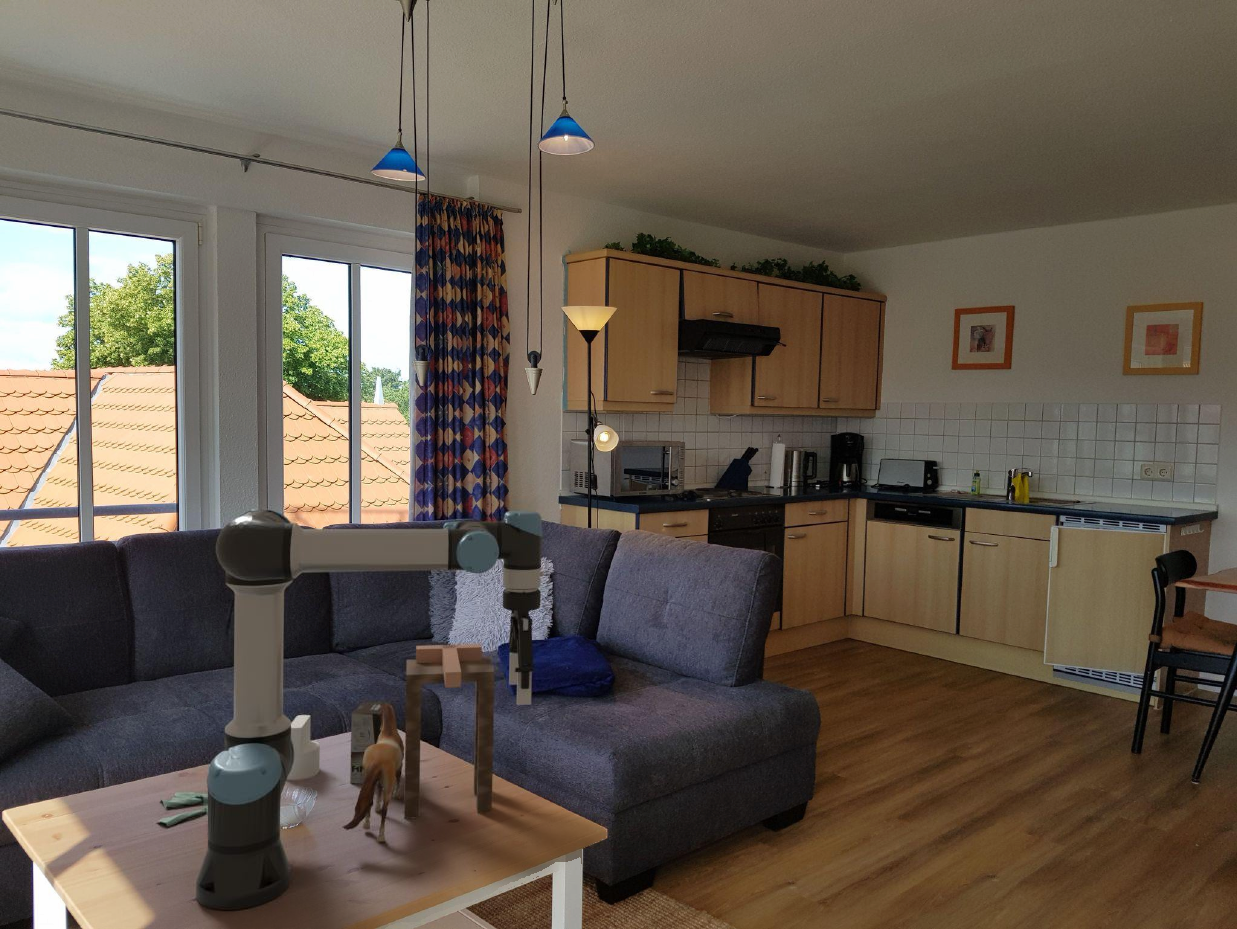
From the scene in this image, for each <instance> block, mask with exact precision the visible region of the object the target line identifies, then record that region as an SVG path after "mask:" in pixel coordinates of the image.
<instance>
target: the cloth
mask: <svg viewBox="0 0 1237 929" xmlns="http://www.w3.org/2000/svg"><path fill="white" fill-rule="evenodd" d="M159 803H162V804H163V807H164V809H165V810H168V809H176V808H178V809H179V808H185V807H188V806H200V805H203V808H204V809H197V810H192V811H187V812H181V813H178V814H175V815H173V816H167V817H162V818H160V819H159V820H158V821H157V822H156V824H160V823H163V824H164V825H163V826H166V827H167V828H170V827H173V825H176V824H178V823H181V822H184V821H187V820H190V819H194V818H197V817H201V816H204V815H206V823H208V793H204V792H203V793H197V792H183V791H182V792H175V793H174V797H172V798H171V799H170V800H166V799H161V800H160V801H159Z"/></svg>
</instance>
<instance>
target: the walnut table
mask: <svg viewBox="0 0 1237 929" xmlns="http://www.w3.org/2000/svg"><path fill="white" fill-rule="evenodd" d="M459 664H460V669H461V683H475V688H474V689H475V690H474V691H475V694H474V695H475V696H474V697H475V698H474V744H473V745H474V748H473V750H474V751H473V752H474V753H473V758H474V759H473V794H474V797H476V813H477V814H482V813H492V811H493V778H494V776H493V773H494V771H493V770H494V769H493V768H494V766H493V764H494V718H495V717H494V714H495V711H494V710H495V708H494V707H495V670H494V669H495V668H494V666H493V663H492V660H491V657H490V656H482V661H460V662H459ZM405 674H406V677H405V678H406V679H405V680H406V684H405V738H404V740H405V744H404V806H403V807H404V808H403V809H404V810H403V811H404V812H403V818H404V819H413V818H412V817H418V818H420V793H421V792H420V784H421V780H420V779H421V777H420V776H421V774H420V773H421V772H420V771H421V729H422V728H421V726H422V725H421V721H422V719H421V718H422V716H421V715H422V714H421V713H422V685H426V684H427V685H428V684H429V685H430V684H445V681H444V673H443V665H442V662H432V663H416V658H415V659H406V673H405Z"/></svg>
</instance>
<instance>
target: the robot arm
mask: <svg viewBox="0 0 1237 929" xmlns="http://www.w3.org/2000/svg"><path fill="white" fill-rule="evenodd" d="M542 521H543V520H542V515H540V513H538V512H537V511H532V510H509V511H506V512H505V513H504V517H503V520H500V521H467V520H466V521H465V520H464V521H463V520H459V521H447V522H445V523H444V524H443V528H344V529H343V528H313V529H312V528H307V529H306V528H302V526H300V525H299V523H292V522H291V521H290V520H289V518H288V517H287V516H285V515H284V514H282V513H281V512H279V511H276V510H273V509H266V508H258V509H251V510H247V511H245V512H244V513H242V514H240V515H239V516H238V517H236V518H234V519H233V520H230V521H229V522H228V523H227V524H226V525H225V526H224V527H223V528H222V530H220V533H219V534H218V536H217V539H216V544H215V553H216V557H217V560H218V563H219V564H220V566H221V567H222V569H223V570H224V571H225V585H226V586H227V587H228V588H230V589H231V590H232V591H233V593H234V627H233V628H234V631H233V632H234V637H233V639H234V645H233V646H234V648H233V650H234V651H233V652H234V653H233V654H234V655H233V661H234V662H233V666H234V667H233V718H232V720H231V721H230V722H229V723H228V724H226V726H225V727H224V750H222V751H221V752H219V753H218V754H217V755H216V756H214V758H213V759H212V760H211V761H210V764H209V766H208V773H207V776H206V787H207V794H208V822H207V850H206V853H205V856H204V859H203V862H202V864H201V867H200V870H199V873H198V876H197V879H196V884H195V898H196V900H197V902H198V903H199V904H200V905H202V906H204V907H206V908H209V909H214V910H219V911H235V910H237V911H238V910H243V909H247V908H253V907H256V906H260V905H263V904H265V903H268V902H270V901H272V900H274V899H275V898H277V897H279V896H281V895H282V894H283V892H285V890H287V889H288V887H289V885H290V883H291V866H290V862H289V860H288V857H287V854H286V852H285V848H284V845H283V843H282V839H281V798H282V793H283V790H284V788H285V785H286V782H287V777H288V775H289V773H290V771H291V769H292V765H293V762H294V747H293V743H292V740H291V723H292V721H291V719H289V718H288V717H287V716H286V715H285V714H284V707H283V706H284V626H285V624H284V622H285V620H284V616H285V614H284V613H285V610H284V609H285V608H284V607H285V590H286V588H288V586H290V585H291V584H292V583H293V580H294V579H296V578H297V577H298V576H299V575H301V574H302V573H342V572H344V573H345V572H350V573H351V572H353V573H355V572H357V573H358V572H403V571H405V572H408V571H410V572H414V571H416V572H417V571H418V572H419V571H465V572H468V573H472V574H478V575H479V574H484V573H486V572H489V570H491V569H493V567H494V566H495V565H496V563H497V562H498V560H503V566H502V587H503V588H504V590H503V591H502V607H503V608H504V610H508V611H511V612H510V613H511V615H510V619H509V620H510V622H509V623H510V627H509V639H508V644H507V645H508V646H509V649H508V650H509V665H508V666H509V671H508V672H509V673H508V676H509V677H508V684H509V685H512V686H513V685H516V706H527V705H528V706H529V705H532V681H533V680H532V677H533V676H532V675H533V671H534V670H535V666H534V650H533V648H534V647H533V618H531V615H530V612H531V611H537V610H538V609H540V607H541V598H542V596H541V594H542V593H541V589H539V588H541V585H542V584H541V583H542V582H541V580H542V579H541V577H544V576H545V573H544V571H542V552H543V551H542V547H543V546H542V545H543V531H542V530H543V529H542V528H543V527H542V524H543V523H542Z"/></svg>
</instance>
